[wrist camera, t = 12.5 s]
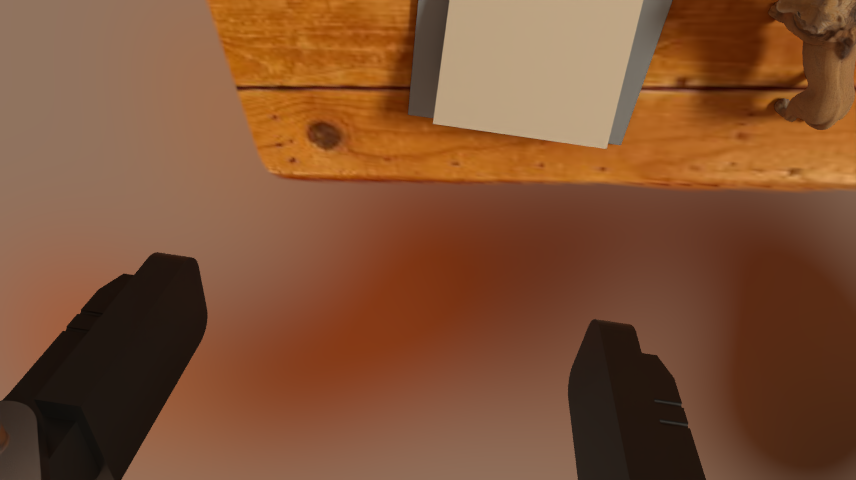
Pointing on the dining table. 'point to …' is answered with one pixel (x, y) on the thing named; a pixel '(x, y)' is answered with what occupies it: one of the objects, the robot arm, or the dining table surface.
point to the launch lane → (534, 65)
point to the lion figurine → (821, 58)
